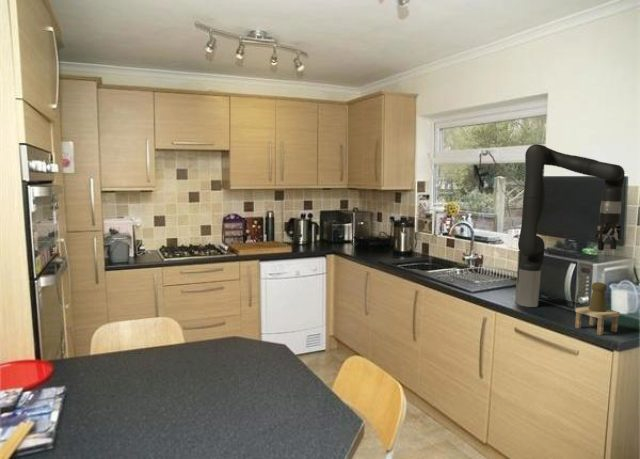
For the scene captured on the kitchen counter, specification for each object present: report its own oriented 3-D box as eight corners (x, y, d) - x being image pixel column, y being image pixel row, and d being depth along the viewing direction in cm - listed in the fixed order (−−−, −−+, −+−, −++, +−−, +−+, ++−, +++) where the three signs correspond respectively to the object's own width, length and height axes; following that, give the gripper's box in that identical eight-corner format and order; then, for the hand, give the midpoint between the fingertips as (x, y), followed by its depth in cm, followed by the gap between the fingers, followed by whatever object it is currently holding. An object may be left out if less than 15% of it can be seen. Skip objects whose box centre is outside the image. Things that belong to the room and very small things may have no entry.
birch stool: (574, 327, 189) (575, 308, 188) (591, 323, 194) (592, 305, 193) (600, 335, 179) (602, 315, 179) (617, 331, 184) (619, 312, 184)
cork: (600, 308, 189) (603, 281, 188) (609, 312, 183) (611, 284, 182) (585, 307, 189) (587, 281, 188) (593, 311, 183) (595, 284, 182)
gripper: (611, 211, 204) (608, 247, 206) (591, 211, 198) (587, 249, 199) (629, 212, 197) (625, 250, 199) (608, 212, 191) (605, 252, 193)
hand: (606, 249), depth 199 cm, fingers open, 8 cm apart
